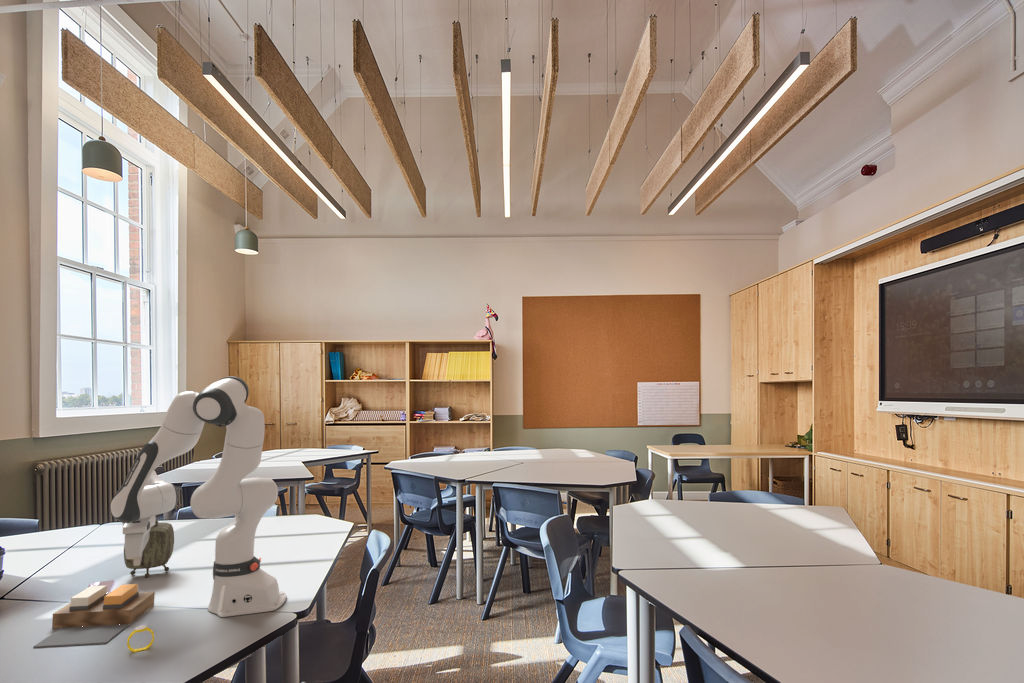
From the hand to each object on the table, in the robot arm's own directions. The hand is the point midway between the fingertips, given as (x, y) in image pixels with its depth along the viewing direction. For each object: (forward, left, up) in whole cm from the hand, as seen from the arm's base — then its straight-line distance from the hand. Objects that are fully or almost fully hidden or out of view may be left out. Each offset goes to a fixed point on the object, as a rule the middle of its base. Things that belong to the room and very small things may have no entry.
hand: (137, 564), depth 185 cm
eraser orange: (-1, +10, -8) cm, 13 cm away
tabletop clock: (+8, -26, -12) cm, 30 cm away
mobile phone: (+18, -14, -13) cm, 26 cm away
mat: (+2, +24, -12) cm, 26 cm away
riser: (+4, +10, -12) cm, 16 cm away
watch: (-18, +34, -12) cm, 40 cm away
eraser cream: (+8, +10, -8) cm, 16 cm away
